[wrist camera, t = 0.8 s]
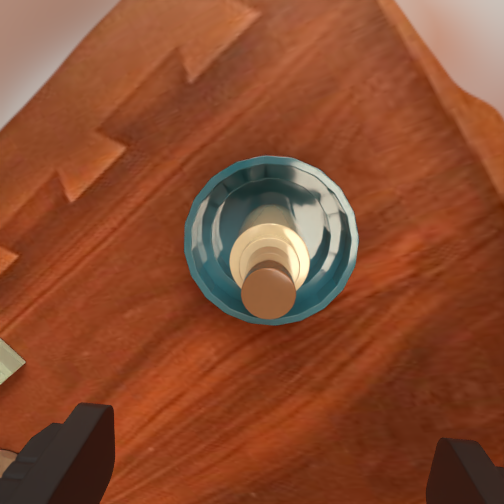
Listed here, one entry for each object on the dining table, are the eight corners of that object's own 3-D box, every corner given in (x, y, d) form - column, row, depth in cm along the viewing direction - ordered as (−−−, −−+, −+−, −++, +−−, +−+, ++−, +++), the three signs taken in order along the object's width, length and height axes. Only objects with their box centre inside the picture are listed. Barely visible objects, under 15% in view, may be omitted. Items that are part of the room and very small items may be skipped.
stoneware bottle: (242, 200, 33) (220, 240, 19) (303, 206, 33) (326, 249, 19) (238, 259, 34) (214, 336, 20) (297, 264, 34) (313, 345, 20)
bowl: (199, 148, 32) (186, 149, 28) (356, 161, 32) (371, 163, 27) (194, 294, 36) (181, 317, 31) (335, 307, 35) (345, 332, 31)
